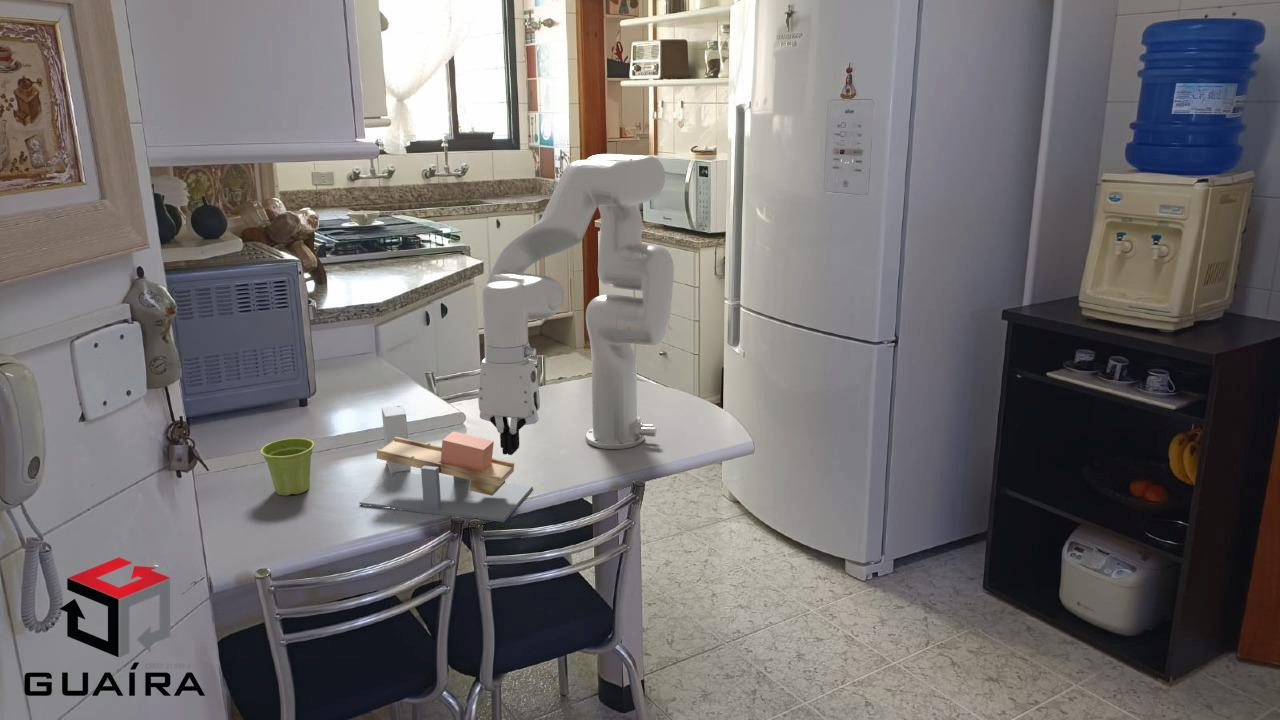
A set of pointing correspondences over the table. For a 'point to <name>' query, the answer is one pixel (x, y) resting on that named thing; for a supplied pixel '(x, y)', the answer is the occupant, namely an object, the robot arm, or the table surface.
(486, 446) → the block
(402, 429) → the skincare box
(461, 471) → the beam
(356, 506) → the table surface
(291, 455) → the plant pot
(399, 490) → the stand
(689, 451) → the table surface
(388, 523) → the table surface
